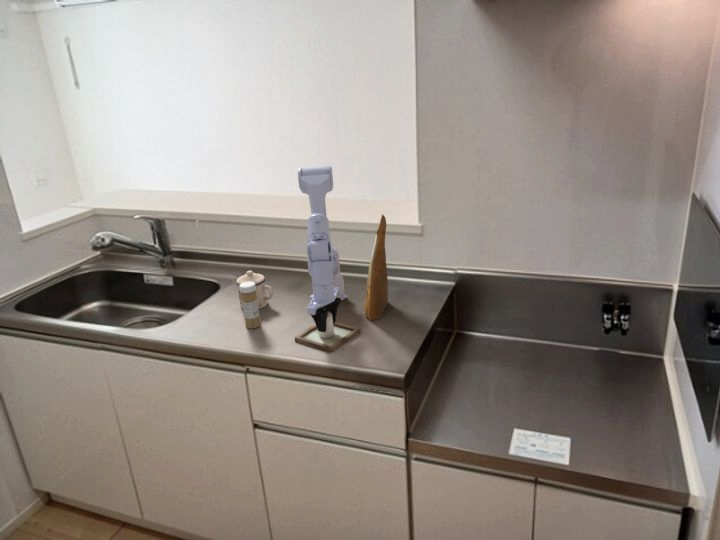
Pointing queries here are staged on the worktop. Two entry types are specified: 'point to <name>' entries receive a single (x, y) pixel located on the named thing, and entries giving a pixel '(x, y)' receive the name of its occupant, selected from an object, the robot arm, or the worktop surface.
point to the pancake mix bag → (377, 276)
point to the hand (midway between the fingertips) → (326, 327)
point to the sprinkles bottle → (250, 304)
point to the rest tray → (327, 344)
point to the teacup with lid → (260, 288)
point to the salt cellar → (328, 327)
